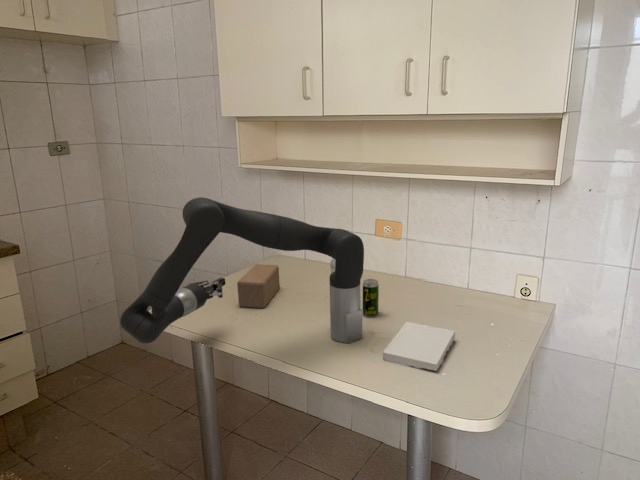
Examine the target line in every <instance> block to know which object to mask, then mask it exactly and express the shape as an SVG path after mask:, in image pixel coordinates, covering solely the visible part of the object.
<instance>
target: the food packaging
mask: <svg viewBox="0 0 640 480" xmlns="http://www.w3.org/2000/svg"><path fill="white" fill-rule="evenodd" d="M455 339H456V330H451V329H446V328H441V327H436V326H430V325H424V324H420V323H415V322H409V321H406V322H405V323H404V325H403V326H402V327H401V328H400V329H399V331H398V332H397V334H396V335H395V336H394V338H393V339H392V340H391V341H390V343H389V344H388V345H387V346H386V347H385V349H384V350H383V352H382V359H383V360H384V361H386V362H390V363H394V364H399V365H402V366H407V367H413V368H415V369H422V370H423V369H424V370H425V369H426V370H428V371H435V372H437V370H439V369H440V366H441V365H442V364H443V363H444V358H445V356H446V354H447V352H449V350H450V347H452V345H453V342H454V341H455Z"/></svg>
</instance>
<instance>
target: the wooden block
mask: <svg viewBox="0 0 640 480" xmlns="http://www.w3.org/2000/svg"><path fill="white" fill-rule="evenodd" d="M236 283H237V285H236V286H237V297H238V306H239V307H244V308H257V309H258V308H260V309H264V308H266V307H267V305H268V304H269V303H270V301H271V300H272V298H273V297H274V296H275V295H276V293H277V292H278V290H279V289H280V286H281V284H280V267H279V266H278V264H259V263H257V264H254V265H253V266H252V267H251V268H250V269H249V270H247V272H246V273H244V275H243V276H241V278H240V279H238V281H237V282H236Z"/></svg>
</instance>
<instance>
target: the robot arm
mask: <svg viewBox="0 0 640 480" xmlns="http://www.w3.org/2000/svg"><path fill="white" fill-rule="evenodd" d="M182 219H183V222H184V224H185V228H184V231H183V234H182V236H181V238H180V240H179V242H178V243H177V245H176V246H175V248H174V250H173V251H172V252H171V253H170V255H169V256H168V257H167V258H166V259H165V260H164V261H163V262H162V263H161V265H160V266H159V267H158V268H157V270H156V271H155V272H154V274H153V275H152V277H151V279H150V280H149V282H148V283H147V286H146V288H145V289H144V290H143V292H142V293H141V294H140V295H139V296H138V297H137V298H135V300H134V301H133V302H132V303H131V304H130V305H129V306H128V307H127V308H125V309H124V311H123V312H122V313H121V315H120V318H119V319H120V320H119V324H120V327H121V328H122V330H124V331H125V332H126V333H128V334H129V335H130V336H132V338H134V339H135V340H136V341H137V342H139V343H140V344H151V343H153V342H155V341H156V340H157V339H158V338H159V336H161V334H162V333H163V332H164V331H165V330H166V329H167V328H168V327H169V326H170V325H171V324H173V323H174V322H176V321H177V320H179V319H181V318H184V317H185V316H188V315H190V314H191V313H194V312H195V311H197V310H199V309H201V308H202V307H204V306H205V304H206V302H207V300H209V299H212V298H214V297H218V298H219V299H221V298H223V287H224V286H225V285H226V278H225V277H219V278H217V279H215V280H210V281H209V280H203V281H197V282H191V283H188V284H187V285H185V286H183V287H182V288H181V285H182V284H183V281H185V279H186V277H187V276H188V274H189V273H190V271H191V270H192V268H193V267H194V265H195V264H196V262H197V261H199V259H200V257H201V256H202V254H203V253H205V250H206V249H208V247H209V246H210V245H211V244H212V242H213V241H214V240H215V239H216V237H218V235H219V233H222V234H223V233H224V234H227V235H233V236H236V237H238V238H240V239H243V240H246V241H248V242H250V243H254V244H256V245H259V246H261V247H264V248H269V249H274V250H279V251H284V252H285V251H286V252H294V251H296V252H297V251H311V252H316V253H319V254H323V255H325V256H328V257H331V259H332V258H334V259H335V271H334V272H333V273H331V272H330V275H329V313H330V314H329V319H330V321H329V322H330V337H331V339H332V340H334V341H336V342H341V343H344V344H349V343H352V342H355V341H357V340H360V339H362V338H363V308H361V279H362V277H363V273H364V261H365V248H364V247H365V246H364V241H363V240H362V238H361V237H360V236H358V235H357V234H356V233H353V232H351V231H349V230H346V229H342V228H335V227H325V226H324V227H323V226H316V225H313V224H310V223H307V222H304V221H301V220H298V219H294V218H291V217H287V216H284V215H279V214H273V213H268V212H262V211H256V210H251V209H244V208H238V207H234V206H232V205H228V204H225V203H222V202H219V201H216V200H214V199H211V198H208V197H204V196H203V197H201V196H200V197H195V198H192V199H190V200H189V201H187V202H186V203H185V205H184V206H183V208H182ZM149 307H151V312H150V311H149V310H148V308H149Z"/></svg>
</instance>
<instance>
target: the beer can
mask: <svg viewBox="0 0 640 480" xmlns="http://www.w3.org/2000/svg"><path fill="white" fill-rule="evenodd" d="M379 288H380V287H379V280H377V279H373V278H367V279H364V280H363V282H362V316H364V317H365V318H368V319H369V318H372V319H373V318H376V317H378V315H379V297H380V296H379V295H380V294H379V293H380V292H379Z"/></svg>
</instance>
